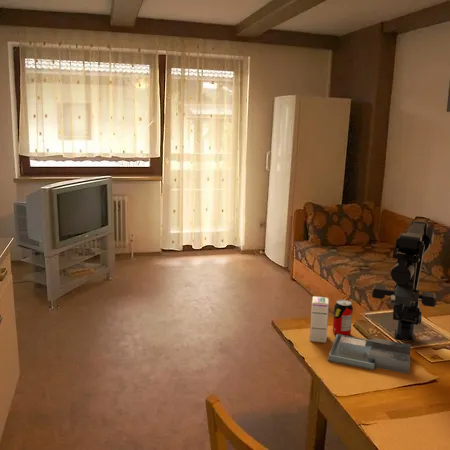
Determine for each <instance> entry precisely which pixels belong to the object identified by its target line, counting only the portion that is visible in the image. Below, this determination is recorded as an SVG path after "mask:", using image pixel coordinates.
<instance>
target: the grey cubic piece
mask: <svg viewBox="0 0 450 450" xmlns="http://www.w3.org/2000/svg"><path fill="white" fill-rule="evenodd" d="M365 348H366V341H365V340H359V339H353V343H352V351H351V355H353V356H358V357H363V358H364V355H365Z"/></svg>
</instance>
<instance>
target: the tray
mask: <svg viewBox="0 0 450 450" xmlns="http://www.w3.org/2000/svg"><path fill="white" fill-rule="evenodd" d="M341 336H344V337H349V338H354V339H359V340H365V341H366V348H365V355H364V358H363V357H358V356H353V355H349V354H344V353H339V342H340V339H341ZM371 344H372V340H371V339H366V338H361V337H355V336H350V335H347V336H346V335H340V334H335V338H334V340H333V343H332V346H331V349H330V351H329V353H328V357H327V358H328V360H327V361H328V362H332V363H336V364H340V365H341V364H342V365H345V366H346V365H347V366H351V367H356V368H360V369H361V368H362V369H366V370H371V371H375V368H376V367H375V366H374V365H375V364H374V363H369V362H368V359H369V352H370V350H371Z"/></svg>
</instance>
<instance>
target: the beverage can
mask: <svg viewBox="0 0 450 450" xmlns="http://www.w3.org/2000/svg"><path fill="white" fill-rule="evenodd" d="M333 307H334V308H333V320H332V321H333V322H332V332H333V333H334V334H335V335H336V334H340V335H346V336H350V334H351V332H352V324H353V323H352V321H353V311H354V310H353V309H354V307H353V305H352V302H351V301H350V300H347V299H341V298H340V299H337V300H336V303H335V304H334V306H333Z"/></svg>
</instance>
